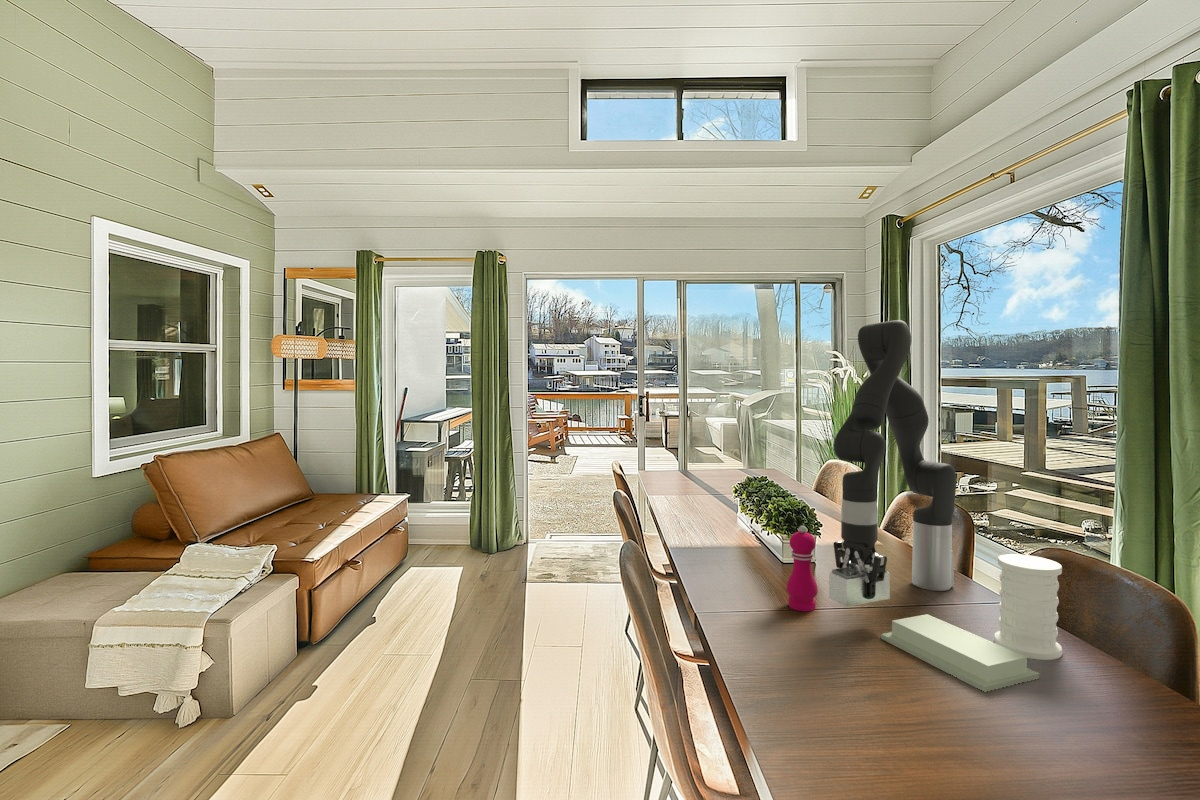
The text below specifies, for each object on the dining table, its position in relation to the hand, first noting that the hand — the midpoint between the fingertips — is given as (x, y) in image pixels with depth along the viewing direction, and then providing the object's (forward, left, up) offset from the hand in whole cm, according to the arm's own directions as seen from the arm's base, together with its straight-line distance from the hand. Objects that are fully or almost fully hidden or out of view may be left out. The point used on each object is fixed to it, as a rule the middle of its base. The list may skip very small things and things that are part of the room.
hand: (859, 593), depth 139 cm
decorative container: (-25, +21, -8) cm, 33 cm away
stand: (-7, +19, -7) cm, 21 cm away
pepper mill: (+4, -14, -8) cm, 17 cm away
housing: (0, 0, -1) cm, 1 cm away
